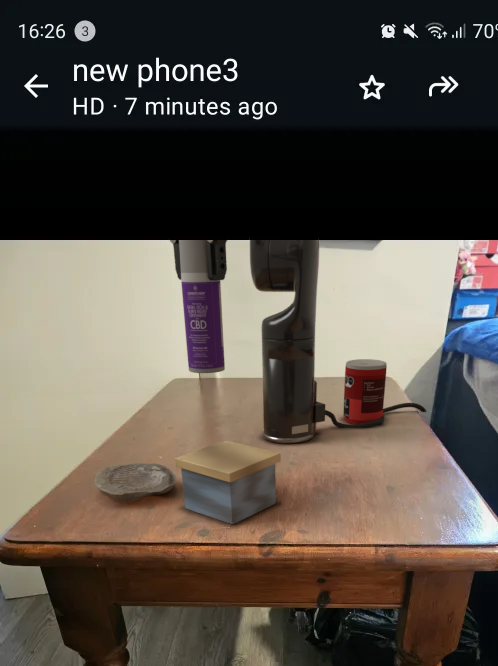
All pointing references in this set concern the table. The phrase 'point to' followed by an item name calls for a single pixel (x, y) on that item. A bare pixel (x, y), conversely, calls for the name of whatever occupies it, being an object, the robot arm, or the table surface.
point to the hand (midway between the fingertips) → (201, 279)
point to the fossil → (134, 481)
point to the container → (201, 310)
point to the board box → (228, 480)
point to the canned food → (364, 390)
